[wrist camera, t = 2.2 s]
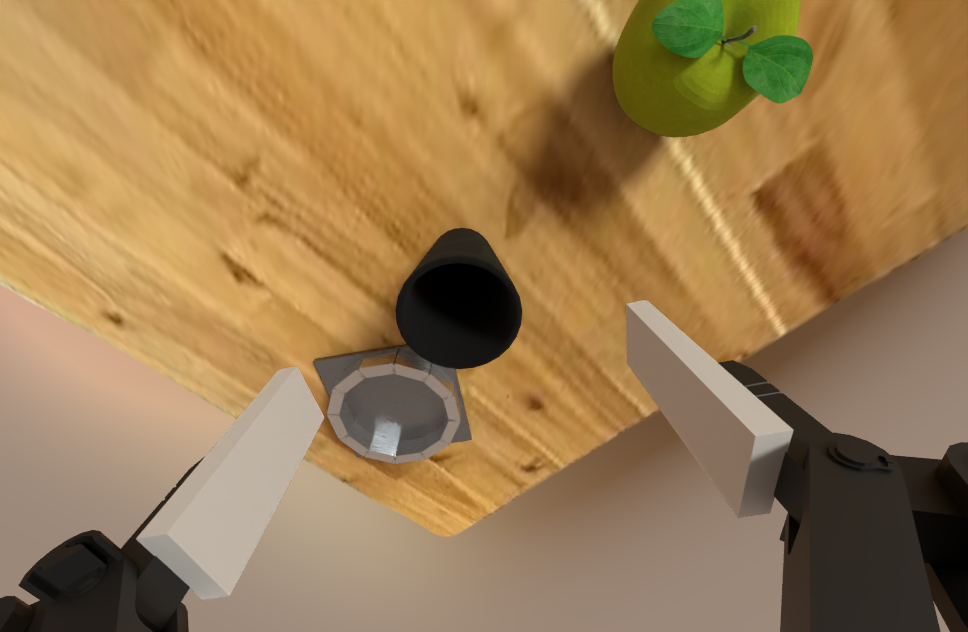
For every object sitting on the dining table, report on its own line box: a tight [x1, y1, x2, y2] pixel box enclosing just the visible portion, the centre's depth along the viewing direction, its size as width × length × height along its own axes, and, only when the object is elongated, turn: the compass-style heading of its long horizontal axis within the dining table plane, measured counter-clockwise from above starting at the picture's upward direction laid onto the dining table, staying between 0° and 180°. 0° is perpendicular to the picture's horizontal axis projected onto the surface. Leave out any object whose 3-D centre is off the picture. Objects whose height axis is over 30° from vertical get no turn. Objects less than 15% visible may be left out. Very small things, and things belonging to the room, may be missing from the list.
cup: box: [396, 228, 522, 369], centre depth 26 cm, size 8×8×12 cm
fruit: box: [612, 0, 813, 137], centre depth 21 cm, size 9×9×10 cm
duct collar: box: [313, 344, 472, 464], centre depth 38 cm, size 14×14×3 cm
